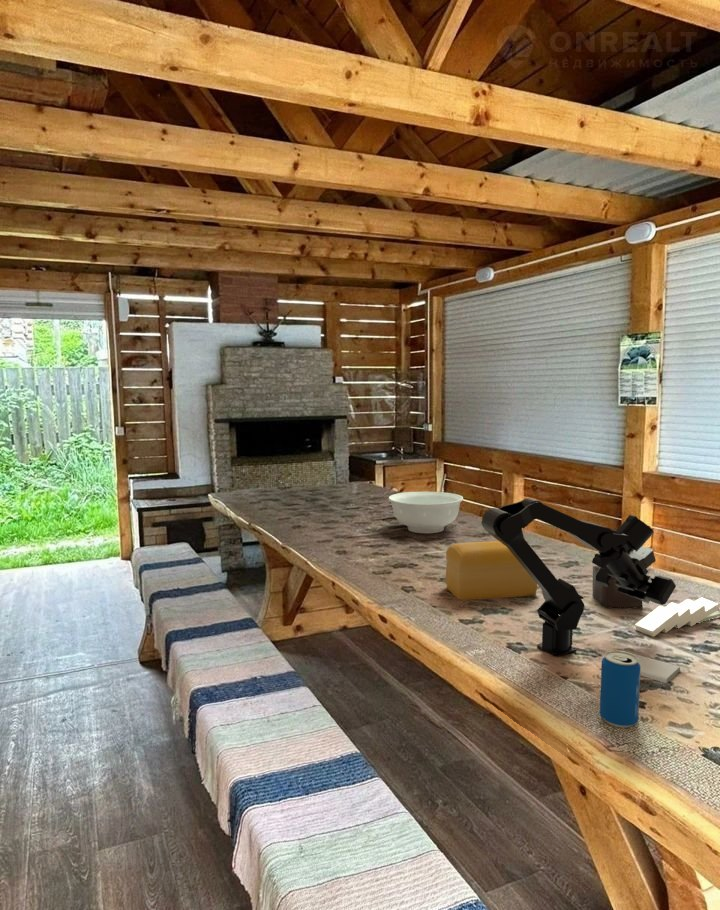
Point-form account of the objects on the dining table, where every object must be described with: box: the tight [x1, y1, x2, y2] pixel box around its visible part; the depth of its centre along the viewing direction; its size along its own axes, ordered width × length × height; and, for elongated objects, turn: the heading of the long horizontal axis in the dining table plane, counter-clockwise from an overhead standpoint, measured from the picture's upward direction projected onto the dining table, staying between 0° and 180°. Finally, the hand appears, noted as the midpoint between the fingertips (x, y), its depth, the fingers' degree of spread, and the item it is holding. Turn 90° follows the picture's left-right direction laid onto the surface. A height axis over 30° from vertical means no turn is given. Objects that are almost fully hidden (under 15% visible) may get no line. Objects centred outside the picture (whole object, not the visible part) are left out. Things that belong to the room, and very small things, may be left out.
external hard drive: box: [620, 650, 681, 684], centre depth 134 cm, size 2×8×12 cm
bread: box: [445, 540, 538, 601], centre depth 185 cm, size 24×13×15 cm, turn 101°
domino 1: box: [634, 605, 679, 638], centre depth 155 cm, size 2×5×10 cm
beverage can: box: [599, 650, 641, 729], centre depth 112 cm, size 6×6×12 cm
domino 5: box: [698, 611, 720, 624], centre depth 164 cm, size 2×5×10 cm
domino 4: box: [685, 596, 720, 627], centre depth 161 cm, size 2×5×10 cm
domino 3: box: [673, 598, 705, 629], centre depth 159 cm, size 2×5×10 cm
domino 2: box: [661, 601, 691, 634], centre depth 157 cm, size 2×5×10 cm
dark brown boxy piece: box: [591, 565, 644, 609], centre depth 177 cm, size 16×11×18 cm
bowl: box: [388, 491, 464, 534], centre depth 268 cm, size 32×32×15 cm
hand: (648, 601), depth 152 cm, fingers closed
